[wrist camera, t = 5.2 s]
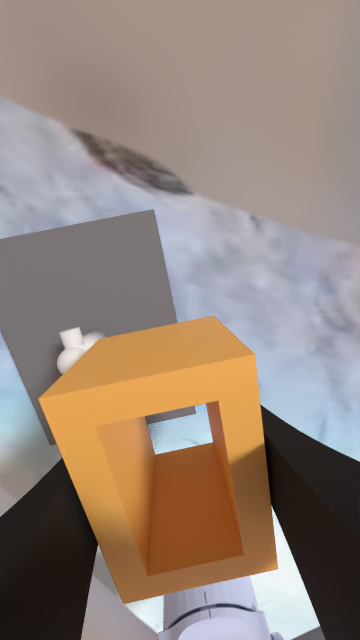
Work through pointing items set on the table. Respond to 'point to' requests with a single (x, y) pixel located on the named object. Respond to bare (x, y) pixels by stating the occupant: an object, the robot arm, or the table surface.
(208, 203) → the table surface
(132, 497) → the orange link
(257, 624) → the robot arm
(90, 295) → the hook board
